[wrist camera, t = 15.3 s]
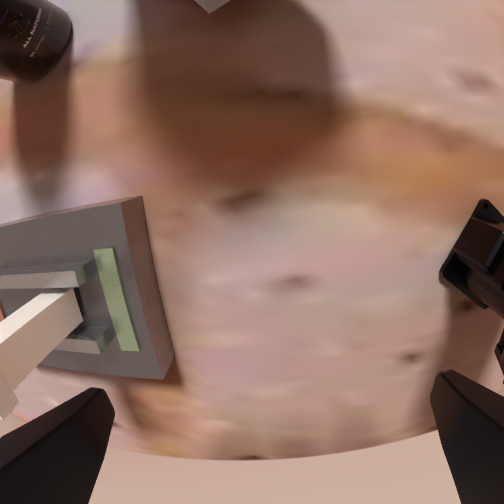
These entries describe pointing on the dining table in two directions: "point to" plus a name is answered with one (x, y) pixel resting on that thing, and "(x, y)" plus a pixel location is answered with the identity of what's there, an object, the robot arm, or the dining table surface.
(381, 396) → the dining table surface
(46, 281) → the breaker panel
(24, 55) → the supplement bottle
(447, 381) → the robot arm
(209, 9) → the circuit breaker
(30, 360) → the handle
